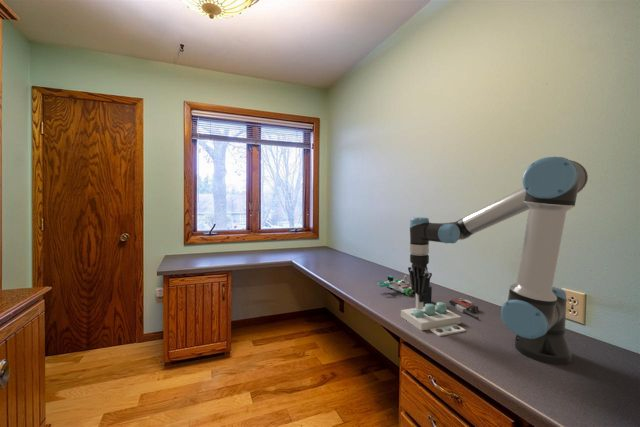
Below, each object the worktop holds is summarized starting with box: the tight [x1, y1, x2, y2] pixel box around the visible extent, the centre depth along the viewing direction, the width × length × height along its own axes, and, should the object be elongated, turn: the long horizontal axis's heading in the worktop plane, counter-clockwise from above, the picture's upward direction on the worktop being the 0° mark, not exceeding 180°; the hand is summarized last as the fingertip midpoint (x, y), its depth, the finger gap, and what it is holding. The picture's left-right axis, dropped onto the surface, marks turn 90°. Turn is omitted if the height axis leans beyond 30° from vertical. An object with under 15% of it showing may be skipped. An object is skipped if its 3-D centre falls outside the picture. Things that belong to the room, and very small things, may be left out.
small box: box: [423, 283, 433, 307], centre depth 140 cm, size 11×6×10 cm, turn 168°
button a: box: [435, 301, 448, 314], centre depth 122 cm, size 4×4×4 cm
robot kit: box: [375, 275, 415, 297], centre depth 158 cm, size 19×25×9 cm
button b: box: [425, 303, 436, 316], centre depth 120 cm, size 4×4×4 cm
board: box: [400, 304, 462, 331], centre depth 121 cm, size 14×20×3 cm
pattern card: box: [429, 324, 467, 337], centre depth 111 cm, size 5×13×1 cm, turn 108°
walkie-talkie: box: [448, 297, 479, 319], centre depth 131 cm, size 9×4×20 cm
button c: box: [413, 310, 424, 318], centre depth 119 cm, size 4×4×4 cm
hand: (419, 308), depth 118 cm, fingers closed
